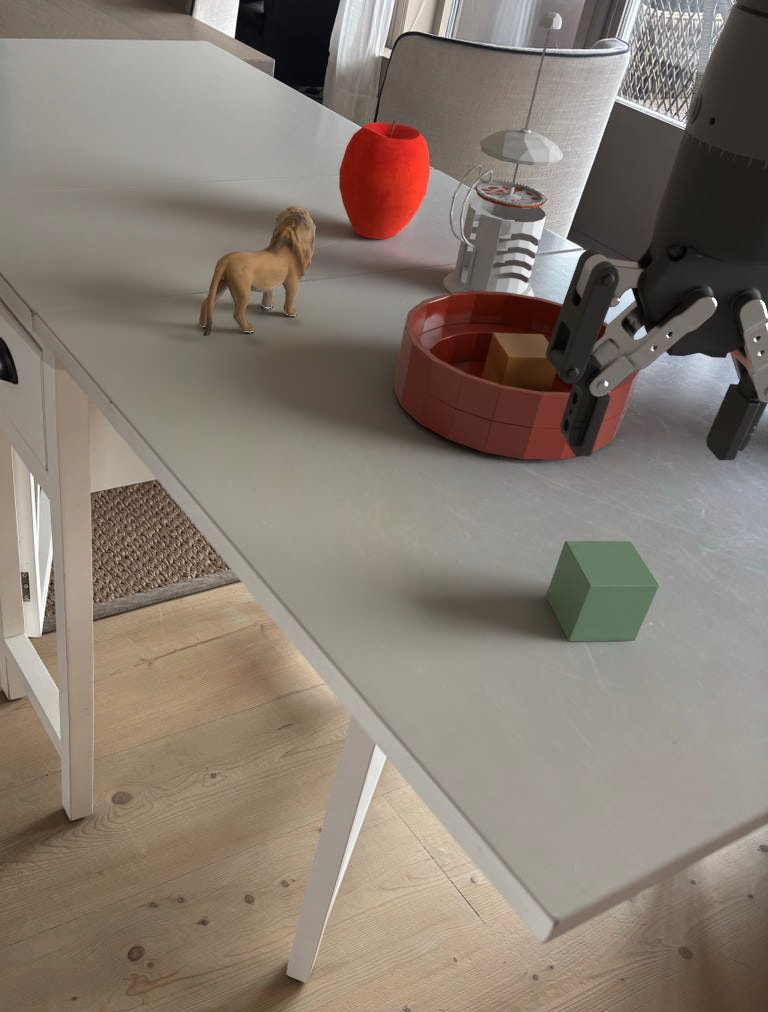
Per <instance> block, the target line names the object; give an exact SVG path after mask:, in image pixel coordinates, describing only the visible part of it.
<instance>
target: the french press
mask: <svg viewBox="0 0 768 1012" xmlns="http://www.w3.org/2000/svg"><path fill="white" fill-rule="evenodd" d="M562 20H563V19H562V17H561V15H560V13H558V12H555V11H548V12H546V13H544V15H542V17H541V19H540V21H539V27H542V28H544V29H547V32H546V37H545V41H544V45H543V48H542V49H543V50H542V53H541V57H540V63H539V67H538V70H537V74H536V80H535V84H534V88H533V92H532V97H531V99H530V105H529V108H528V114H527V118H526V122H525V127H523V128H508V129H504V130H499V131H496V132H494V133H492V134H490V135H488V136H486V137H484V138H483V139H482V140H480V141H479V146H480V149H481V152H482V153H483V154H485V155H486V156H488V157H491V158H493V159H495V160H498V161H502V162H506V163H511V164H516V166H515V169H514V173H513V178H512V181H509V180H507V181H506V180H502V179H501V180H500V179H498V180H497V179H496V180H493V177H494V170H493V169H487V170H485V171H484V172H483V165H482V164H479V163H477V164H476V165H475V166H473V167H472V168H470V169H469V170H468V171H466V173H465V174H464V175H463V177H462V178H461V180H460V181H459V183H458V185H457V187H456V188H455V191H454V194H453V196H452V199H451V204H450V210H449V226H450V230H451V233H452V234H453V236H454V238H456V239H457V240H458V241H459V242H460V244H459V249H458V253H457V258H456V263H455V268H454V270H452V271H451V272H450V273H448V274H447V275H446V276H445V277H444V278H443V279H442V282H443V287H444V288H445V289H446V290H447V291H448V293H455V292H464V291H493V292H509V293H515V294H521V295H527V296H533V297H536V296H535V292H534V290H533V288H532V287H531V285H530V280H529V278H530V277H531V276H532V272H533V267H532V266H534V264H535V261H536V255H535V254H536V253H537V252H538V249H539V241H538V240H541V238H542V235H543V230H544V227H545V223H546V219H547V214H546V212H545V211H544V209H543V208H542V206H544V204H545V203H546V202H547V201H548V198H547V196H546V194H545V193H544V192H543V191H542V190H540V189H538V188H535V187H534V186H530V185H528V184H526V185H525V184H522V183H519V182H516V177H517V173H518V169H519V165H525V166H550V165H555V164H556V165H557V163H559V162H560V161H561V160H562V158H563V157H564V154H563V152H562V150H561V149H560V147H559V146H558V145H557V144H556V143H555V142H553V141H551V140H550V139H549V138H547V137H546V136H544V135H543V134H541V133H539V132H537V131H532V130H530V129H529V128H528V126H529V122H530V118H531V114H532V109H533V105H534V101H535V98H536V93H537V89H538V84H539V80H540V76H541V71H542V68H543V63H544V59H545V56H546V55H545V54H546V50H547V46H548V42H549V38H550V34H551V30H560V29H561V28H562V23H563V21H562ZM477 168H479V171H478V177H477V178H476V179H475V181H474V182H473V184H472V185H471V187H469V189H468V191H467V193H466V196H465V197H464V200H463V203H462V207H461V211H460V216H459V230H460V236H459V235H457V233H456V231H455V230H454V222H453V213H454V207H455V200H456V197H457V195H458V194H459V193H458V192H459V190H460V188H461V186H462V185H463V183H464V182H465V180H466V179H467V177H468V176H469V175H470V173H472V172H473V171H475V170H476V169H477ZM482 172H483V173H482ZM489 173H490V175H489V178H488V180H485V179H484V178H483V177H485V176H486V175H488V174H489ZM479 181H480V183H479ZM474 188H475V192H476V196H475V197H473V198H472V199H470V200H469V198H470V197H471V196H470V195H471V193H472V191H473V189H474ZM468 200H469V201H468ZM467 202H468V206H467V211H466V216H465V220H464V221H463V219H464V213H465V210H466V205H467ZM474 208H478V209H482V210H484V211H485V212H487V213H488V214H490V215H491V216H488V215H487V214H483V213H480V214H479V213H476V212H477V211H476V209H474ZM493 216H494V217H493ZM496 217H497V218H496ZM463 222H464V223H463ZM474 222H478V224H477V226H474ZM472 234H475V238H471V235H472ZM508 235H510V238H504V236H508ZM501 237H503V238H501ZM469 247H470V248H472V250H468V249H469ZM505 249H507V250H505Z"/></svg>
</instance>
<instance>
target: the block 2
mask: <svg viewBox="0 0 768 1012" xmlns="http://www.w3.org/2000/svg"><path fill="white" fill-rule="evenodd" d="M659 588H660V584H659V582H658V580H657V579H656V578H655V575H654V574H653V573H652V571H651V570H650V568H649V567H648V565H647V563H646V561H645V560H644V559H643V557H642V556H641V554H640V553H639V551H638V549H637V548H636V546H635V545H634V543H633V542H632V541H630V540H627V541H626V540H623V541H622V540H616V541H615V540H611V541H610V540H565V541H564V543H563V545H562V549H561V552H560V554H559V557H558V560H557V564H556V566H555V569H554V572H553V573H552V577H551V580H550V583H549V586H548V589H547V592H546V594H545V598H546V599H547V602H548V603H549V605H550V607H551V609H552V611H553V613H554V615H555V617H556V619H557V621H558V623H559V625H560V627H561V629H562V631H563V633H564V635H565V637H566V639H567V642H618V641H636V640H637V637H638V636H639V633H640V630H641V628H642V626H643V624H644V622H645V619H646V618H647V614H648V612H649V610H650V608H651V606H652V603H653V601H654V599H655V597H656V594H657V592H658V590H659Z"/></svg>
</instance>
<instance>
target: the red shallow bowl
mask: <svg viewBox="0 0 768 1012" xmlns="http://www.w3.org/2000/svg"><path fill="white" fill-rule="evenodd" d="M562 305H563V303H560V302H556V301H553V300H550V299H546V298H543V297H537V296H535V297H533V296H527V295H521V294H515V293H509V292H493V291H464V292H455V293H450V292H445V293H443V294H440V295H436V296H433V297H431V298H430V297H429V298H427V299H425V300H424V299H423V300H421V301H420V302H419V303H418V304H416V305H415V306H414V307H413V308H412V309H410V310H409V311H408V312H407V315H406V319H405V323H404V326H403V333H402V339H401V343H400V349H399V355H398V360H397V365H396V371H395V376H394V377H395V378H394V381H393V382H394V383H393V390H394V392H395V395H396V398H397V400H398V402H399V405H400V406H401V408H403V409H404V410H405V411H406V412H407V413H408V414H409V415H410V416H411V417H412V418H413V419H415V421H417V422H418V424H419V425H422V426H423V427H425V428H427V429H429V430H431V431H432V432H434V433H436V434H438V435H439V436H441V437H443V438H445V439H446V440H449V441H451V442H454V443H457V444H460V445H463V446H465V447H468V448H471V449H474V450H477V451H480V452H483V453H486V454H493V455H498V456H504V457H510V458H514V459H520V460H552V461H553V460H555V461H556V460H557V461H558V460H559V461H560V460H565V459H570V458H576V457H577V456H575V455H574V453H573V452H572V450H571V449H570V447H569V446H568V444H567V442H566V440H565V438H564V437H563V435H562V433H561V427H560V424H561V421H562V417H563V416H564V411H565V409H566V405H567V402H568V399H569V395H570V392H571V389H572V386H573V384H567V383H565V382H563V381H562V379H561V378H560V376H559V375H558V374H557V372H556V374H555V377H554V381H553V384H552V387H551V391H550V392H538V391H533V390H527V389H521V388H515V387H510V386H504V385H500V384H497V383H494V382H491V381H488V380H485V379H482V376H483V372H484V368H485V363H486V359H487V355H488V351H489V347H490V343H491V339H492V335H493V333H516V334H542V335H544V337H545V338H546V340H547V341H548V342H550V339H551V336H552V333H553V330H554V328H555V325H556V322H557V319H558V316H559V314H560V311H561V308H562ZM608 324H609V323H607V322H606V321H604V322H603V325H602V328H601V330H600V333H599V335H598V338H597V340H596V342H597V341H598V340H599V339H601V338H602V337H603V336H604V334H605V330H606V327H607V326H608ZM641 371H642V370H635V371H633V372H632V373H631V374H629V375H628V376H627V377H626V378H625V379H624V380H623V381H621V382H620V383H619V384H618V385H617V386H616V387H614V388H613V389H612V390H611V391H610V392H609V393H608V395H609V396H610V397H611V399H610V402H609V405H608V408H607V411H606V414H605V417H604V419H603V422H602V425H601V428H600V431H599V434H598V437H597V439H596V442H595V445H594V448H593V451H592V453H594V452H596V451H598V450H600V449H601V448H603V447H605V446H607V445H609V444H611V443H612V442H613V440H614V438H615V436H617V433H618V432H619V430H620V429H621V426H622V424H623V422H624V421H623V420H624V418H625V415H626V412H627V409H628V406H629V405H630V401H631V398H632V396H633V392H634V390H635V387H636V384H637V382H638V379H639V376H640V373H641Z"/></svg>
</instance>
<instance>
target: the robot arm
mask: <svg viewBox="0 0 768 1012" xmlns="http://www.w3.org/2000/svg"><path fill="white" fill-rule="evenodd" d="M734 1H735V3H734V4H732V6H731V9H730V12H729V14H728V17H727V20H726V22H725V24H724V26H723V28H722V30H721V32H720V35H719V36H718V38H717V40H716V43H715V45H714V46H713V49H712V52H711V54H710V55H709V58H708V61H707V63H706V65H705V68H704V72H703V74H702V77H701V80H700V83H699V85H698V89H697V91H696V94H695V96H694V98H693V100H692V102H691V104H690V108H689V113H688V117H687V118H688V119H687V121H686V123H685V128H684V130H683V133H682V136H681V140H680V142H679V145H678V148H677V151H676V154H675V157H674V160H673V163H672V165H671V169H670V172H669V174H668V178H667V181H666V183H665V187H664V189H663V193H662V195H661V199H660V202H659V204H658V206H657V207H658V208H657V211H656V212H655V217H654V224H653V228H652V229H653V230H652V236H651V239H650V242H649V244H648V245H647V247H646V249H645V250H644V251H643V253H642V254H641V255H640V256H639V257H638V258H637V260H636V261H630V260H623V259H622V260H621V259H615V258H614V259H613V258H607V257H606V256H605V255H604V254H603V252H601V251H600V250H599V249H598V248H593V247H592V248H588V249H586V250H584V251H583V252H582V253H581V254H580V256H579V258H578V259H577V262H576V265H575V269H574V270H573V274H572V277H571V279H570V283H569V285H568V288H567V291H566V293H565V296H564V300H563V302H562V304H563V305H562V308H561V311H560V314H559V316H558V319H557V322H556V325H555V328H554V330H553V333H552V336H551V339H550V342H549V345H548V347H547V350H546V358H547V359H548V361H549V362H550V364H551V365H552V366H553V368H554V369H555V371H556V372H557V374H558V375H559V376H560V378H561V379H562V381H563V382H565V383H567V384H573V386H572V389H571V392H570V395H569V399H568V402H567V405H566V409H565V411H564V416H563V417H562V421H561V424H560V427H561V433H562V435H563V437H564V438H565V440H566V442H567V444H568V446H569V447H570V449H571V450H572V452H573V453H574V455H575V456H576V457H590V456H591V455H592V454H593V452H592V451H593V448H594V445H595V442H596V439H597V437H598V434H599V431H600V428H601V425H602V422H603V419H604V417H605V414H606V411H607V408H608V405H609V402H610V399H611V397H610V396H609V395H608V393H609V392H610V391H611V390H612V389H613V388H614V387H616V386H617V385H618V384H619V383H620V382H621V381H623V380H624V379H625V378H626V377H627V376H628V375H629V374H631V373H632V372H633V371H635V370H641V371H642V370H645V369H646V368H648V367H649V366H651V365H652V363H654V362H655V361H656V360H658V358H660V357H661V356H662V355H663V354H664V353H666V354H667V355H668V356H669V357H687V356H691V355H696V354H700V355H704V356H707V357H710V358H714V359H715V358H717V359H718V358H719V359H726V358H727V356H728V354H730V357H731V360H732V362H733V366H734V369H735V373H736V376H737V379H738V382H737V383H729V385H728V387H727V390H726V392H725V394H724V396H723V399H722V401H721V404H720V405H719V408H718V411H717V413H716V414H715V417H714V420H713V422H712V424H711V427H710V430H709V431H708V433H707V436H706V441H705V442H706V447H707V448H708V449H709V451H710V452H711V454H713V456H714V457H715V458H716V459H717V460H718V461H731V462H732V461H734V460H735V459H736V458H737V455H738V454H739V452H743V451H744V450H745V448H746V447H747V446H748V445H749V444H750V443H751V440H752V438H753V435H754V434H755V431H756V429H757V427H758V425H759V423H760V421H761V419H762V416H763V414H764V412H765V410H766V408H767V406H768V0H734ZM629 290H631V292H632V294H633V297H634V301H632V302H631V303H630V304H629V305H628V306H626V308H625V309H623V310H622V311H621V312H620V313H618V315H617V316H616V317H614V318H613V319H612V320H611V321H610V322H609V323H607V324H608V326H607V327H606V330H605V334H604V336H603V337H602V338H601V339H599V340H598V341H597V342H596V340H597V338H598V335H599V333H600V330H601V328H602V325H603V322H605V319H606V317H607V315H608V312H609V309H610V308H616V307H617V306H619V305H620V303H621V298H622V296H623V295H624V294H625V293H626V292H627V291H629ZM642 328H644V330H645V333H646V334H645V335H644V336H642V337H641V338H639V339H635V336H636V334H637V332H638V331H639V330H640V329H642Z"/></svg>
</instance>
